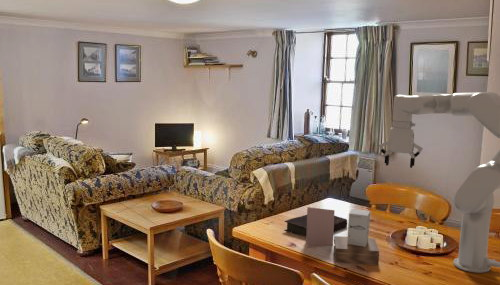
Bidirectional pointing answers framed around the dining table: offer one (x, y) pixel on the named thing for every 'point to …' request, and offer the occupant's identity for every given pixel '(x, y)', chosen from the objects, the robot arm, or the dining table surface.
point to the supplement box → (358, 227)
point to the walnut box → (355, 252)
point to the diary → (300, 225)
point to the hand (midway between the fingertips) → (399, 166)
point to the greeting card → (319, 227)
